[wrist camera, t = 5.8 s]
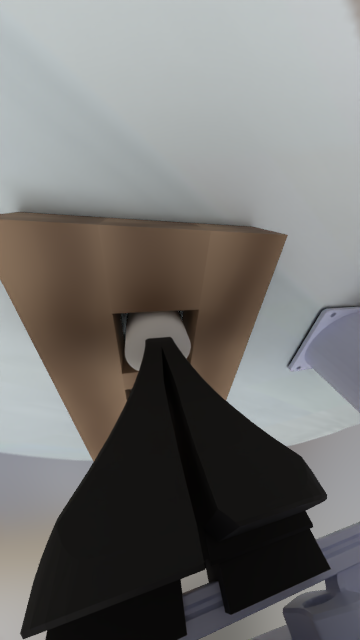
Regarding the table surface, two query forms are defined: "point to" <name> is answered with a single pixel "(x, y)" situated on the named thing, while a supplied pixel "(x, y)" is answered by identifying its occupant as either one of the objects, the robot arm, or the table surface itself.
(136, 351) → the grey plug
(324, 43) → the table surface
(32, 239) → the walnut board
